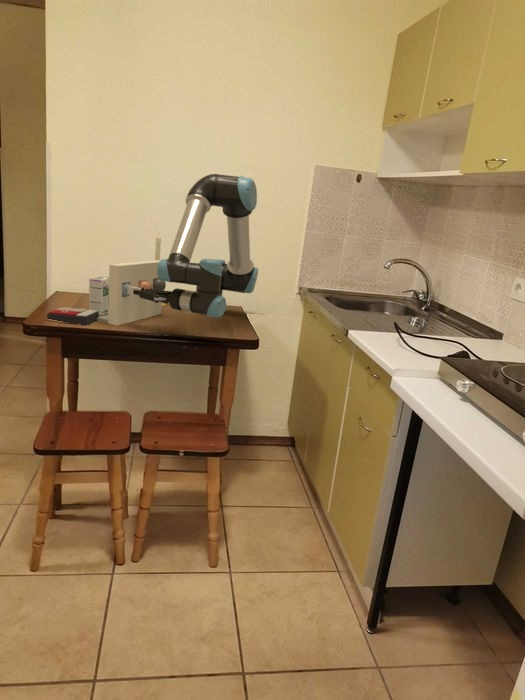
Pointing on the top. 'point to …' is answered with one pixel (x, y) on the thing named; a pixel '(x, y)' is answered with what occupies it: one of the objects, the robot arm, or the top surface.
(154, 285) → the charcoal button
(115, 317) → the control panel
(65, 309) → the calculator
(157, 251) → the candle
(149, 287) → the terracotta button
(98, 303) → the syrup box
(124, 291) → the slate blue button
